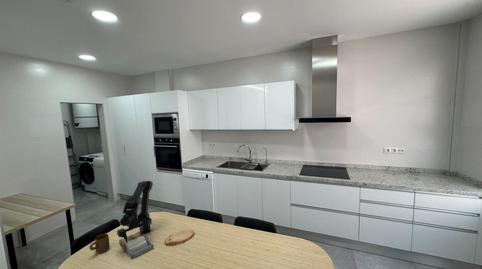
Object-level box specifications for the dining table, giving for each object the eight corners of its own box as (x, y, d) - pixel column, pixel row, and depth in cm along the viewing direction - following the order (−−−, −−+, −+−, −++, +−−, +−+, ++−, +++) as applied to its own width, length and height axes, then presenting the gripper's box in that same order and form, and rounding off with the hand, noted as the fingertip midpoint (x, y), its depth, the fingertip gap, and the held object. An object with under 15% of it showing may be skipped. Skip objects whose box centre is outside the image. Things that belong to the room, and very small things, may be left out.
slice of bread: (196, 232, 150) (196, 227, 149) (186, 247, 132) (186, 242, 132) (174, 231, 152) (174, 226, 152) (162, 246, 134) (161, 240, 134)
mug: (95, 259, 122) (94, 245, 121) (86, 257, 124) (85, 243, 123) (112, 247, 133) (111, 234, 133) (103, 245, 135) (102, 232, 135)
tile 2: (144, 242, 137) (144, 239, 137) (146, 244, 135) (146, 241, 135) (127, 250, 129) (127, 247, 129) (129, 252, 127) (129, 249, 127)
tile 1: (143, 238, 138) (142, 235, 138) (145, 240, 136) (145, 237, 136) (126, 245, 130) (125, 242, 130) (128, 248, 128) (127, 245, 128)
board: (140, 235, 147) (140, 231, 147) (146, 241, 139) (146, 237, 139) (119, 243, 137) (119, 239, 137) (125, 251, 129) (124, 247, 129)
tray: (146, 241, 139) (146, 237, 139) (153, 248, 131) (153, 244, 131) (125, 251, 129) (125, 247, 129) (131, 259, 121) (131, 255, 121)
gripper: (142, 209, 146) (143, 229, 147) (113, 219, 132) (115, 241, 133) (148, 214, 138) (149, 235, 140) (118, 225, 125) (120, 248, 126)
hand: (134, 239), depth 135 cm, fingers open, 9 cm apart
